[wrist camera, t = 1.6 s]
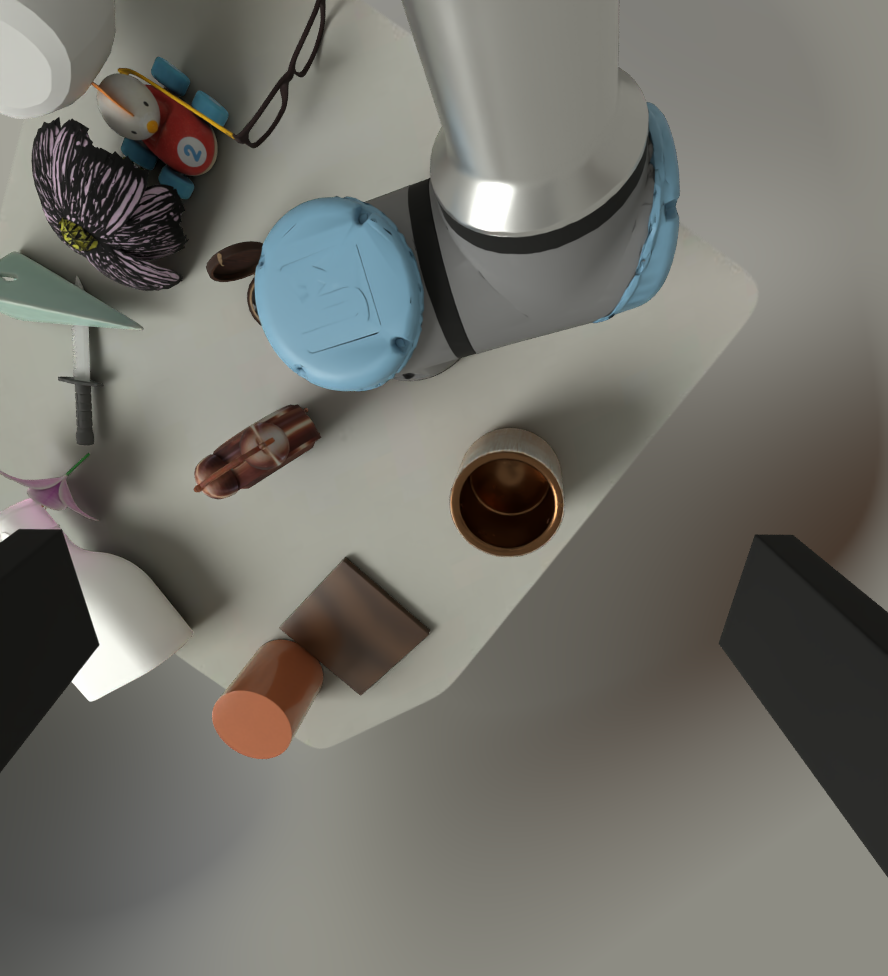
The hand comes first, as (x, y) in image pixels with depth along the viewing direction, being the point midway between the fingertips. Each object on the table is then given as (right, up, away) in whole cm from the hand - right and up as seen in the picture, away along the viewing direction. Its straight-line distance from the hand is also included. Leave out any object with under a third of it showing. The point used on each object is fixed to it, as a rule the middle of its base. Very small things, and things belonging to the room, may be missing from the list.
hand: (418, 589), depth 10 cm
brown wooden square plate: (-11, -16, +57) cm, 60 cm away
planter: (+8, +3, +48) cm, 48 cm away
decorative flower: (-31, +30, +45) cm, 62 cm away
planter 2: (-32, +17, +48) cm, 60 cm away
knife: (-39, +16, +50) cm, 65 cm away
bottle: (-45, -10, +60) cm, 76 cm away
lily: (-45, +3, +57) cm, 73 cm away
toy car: (-25, +37, +42) cm, 61 cm away
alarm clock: (-17, +8, +50) cm, 54 cm away
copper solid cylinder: (-21, -23, +61) cm, 68 cm away
